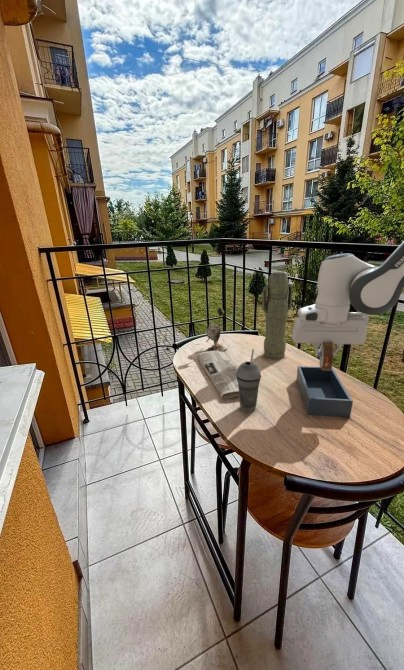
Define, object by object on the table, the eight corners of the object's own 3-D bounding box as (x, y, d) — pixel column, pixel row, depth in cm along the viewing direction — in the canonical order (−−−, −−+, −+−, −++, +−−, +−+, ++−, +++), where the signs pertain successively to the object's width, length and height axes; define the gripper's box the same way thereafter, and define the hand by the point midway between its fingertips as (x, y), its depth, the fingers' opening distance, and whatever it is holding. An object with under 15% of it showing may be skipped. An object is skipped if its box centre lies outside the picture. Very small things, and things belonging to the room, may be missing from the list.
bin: (330, 381, 99) (332, 367, 97) (350, 417, 80) (353, 400, 78) (296, 379, 101) (297, 366, 99) (307, 414, 82) (309, 398, 80)
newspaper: (196, 357, 121) (196, 350, 120) (223, 353, 124) (223, 346, 123) (223, 401, 89) (223, 392, 88) (258, 395, 92) (259, 385, 91)
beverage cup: (241, 399, 90) (242, 342, 83) (263, 405, 87) (266, 346, 80) (231, 411, 84) (231, 351, 77) (254, 418, 81) (256, 355, 74)
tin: (330, 376, 79) (336, 349, 76) (318, 374, 80) (324, 347, 77) (327, 355, 92) (332, 331, 89) (316, 353, 93) (321, 329, 90)
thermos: (256, 353, 123) (259, 272, 111) (280, 349, 126) (285, 270, 114) (266, 361, 115) (270, 275, 103) (291, 357, 118) (298, 273, 106)
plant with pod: (216, 343, 136) (215, 303, 129) (229, 351, 127) (229, 308, 120) (201, 347, 132) (200, 306, 125) (214, 355, 123) (213, 311, 116)
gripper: (365, 309, 82) (358, 352, 86) (292, 309, 85) (289, 351, 90) (374, 315, 76) (366, 361, 81) (296, 315, 79) (292, 359, 84)
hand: (325, 356), depth 85 cm, fingers closed on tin, 3 cm apart
